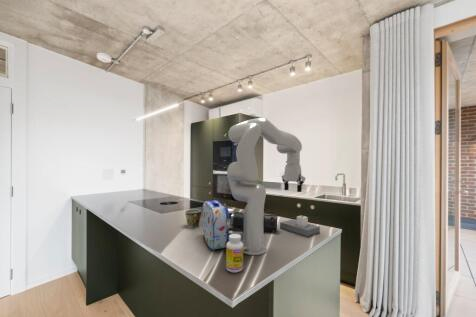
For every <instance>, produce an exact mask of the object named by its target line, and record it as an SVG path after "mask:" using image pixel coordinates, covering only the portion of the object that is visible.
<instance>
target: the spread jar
mask: <svg viewBox="0 0 476 317" xmlns="http://www.w3.org/2000/svg"><path fill="white" fill-rule="evenodd" d="M227 209H228V211H229V231H231V230H234V227H233V226H231V224H230V218H231V215H232V213H234V209H232V208H227Z"/></svg>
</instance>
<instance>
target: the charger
mask: <svg viewBox="0 0 476 317" xmlns="http://www.w3.org/2000/svg"><path fill="white" fill-rule="evenodd" d="M308 218H309V217H308V216H305V215H297V216H296V220H297V226H300V227H307V226H308V224H309V219H308Z"/></svg>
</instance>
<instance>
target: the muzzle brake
mask: <svg viewBox="0 0 476 317" xmlns="http://www.w3.org/2000/svg"><path fill="white" fill-rule="evenodd" d="M230 224H231V226H233V227H234V228H237V229H240V230H243V231H244V212H242V211H233V213H232V215H231V218H230ZM234 228H233V229H234ZM264 231H265V232H277V231H278V214H269V213H264Z"/></svg>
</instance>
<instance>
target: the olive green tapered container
mask: <svg viewBox="0 0 476 317" xmlns="http://www.w3.org/2000/svg"><path fill="white" fill-rule="evenodd" d="M184 214H185V218H186V224H187V227H188V228H189V229H198V227H199V226H200V219H201V217H202V209H187V210H185V212H184Z"/></svg>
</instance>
